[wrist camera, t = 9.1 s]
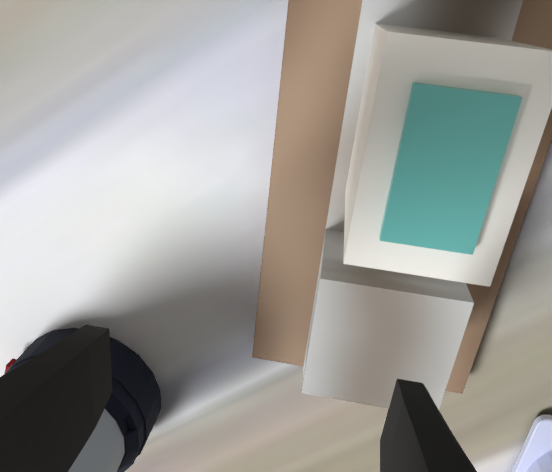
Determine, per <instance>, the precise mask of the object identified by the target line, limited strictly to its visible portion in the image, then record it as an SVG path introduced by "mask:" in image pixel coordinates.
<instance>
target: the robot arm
mask: <svg viewBox="0 0 552 472" xmlns="http://www.w3.org/2000/svg"><path fill="white" fill-rule="evenodd" d="M111 393H112V373H111V355H110V338H109V329H107V328H101V327H95V326H89V325H85V326H83V327H82V328H80V329H78V330H77V331H75V332H73V333H72V334H70V335H68V336H67V337H65V338H64V339H62V340H60V341H59V342H57V343H56V344H54V345H53V346H51V347H49V348H48V349H46V350H45V351H43V352H41V353H40V354H38V355H36V356H35V357H33V358H32V359H30V360H28V361H27V362H25V363H23V364H22V365H20V366H18V367H17V368H15V369H14V370H12V371H10V372H8V373H7V374H5V375H3V376H1V377H0V472H68V471H69V469H70V468H71V466H72V465H73V463H74V462H75V460H76V458H77V457H78V455H79V454H80V452H81V450H82V449H83V447H84V446H85V444H86V442H87V441H88V439H89V438H90V436H91V434H92V433H93V431H94V429H95V428H96V425H97V423H98V421H99V419H100V417H101V415H102V413H103V411H104V409H105V407H106V404H107V402H108V400H109V398H110V395H111ZM380 472H477V471H476V470H475V468H474V467H473V465H472V464H471V462H470V460H469V459H468V457H467V456H466V454H465V453H464V451H463V450H462V448H461V446H460V445H459V443H458V442H457V440H456V439H455V437H454V435H453V434H452V432H451V430H450V429H449V427H448V425H447V424H446V422H445V420H444V419H443V417H442V415H441V413H440V412H439V410H438V408H437V406H436V405H435V403H434V401H433V399H432V397H431V396H430V394H429V392H428V390H427V388H426V387H425V385H424V384H423V383H420V382H414V381H408V380H403V379H397V380H396V384H395V388H394V391H393V395H392V399H391V402H390V406H389V410H388V413H387V417H386V421H385V425H384V428H383V432H382V436H381V439H380ZM511 472H552V415H540V416H538V417H537V418H536V419H535V420H534V422H533V425H532V427H531V429H530V431H529V433H528V436H527V438H526V440H525V442H524V445H523V447H522V449H521V451H520V453H519V456H518V458H517V460H516V462H515V465H514V467H513V469H512V471H511Z"/></svg>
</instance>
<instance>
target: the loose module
mask: <svg viewBox="0 0 552 472" xmlns="http://www.w3.org/2000/svg"><path fill="white" fill-rule="evenodd" d="M551 108H552V49H547V48H543V47H538V46H533V45H529V44H524V43H519V42H515V41H510V40H505V39H500V38H495V37H486V36H478V35H469V34H461V33H452V32H444V31H436V30H427V29H419V28H410V27H402V26H393V25H385V24H376V23H375V26H374V31H373V37H372V43H371V48H370V54H369V60H368V65H367V71H366V77H365V82H364V88H363V94H362V99H361V105H360V111H359V116H358V122H357V128H356V133H355V139H354V145H353V150H352V156H351V162H350V167H349V173H348V179H347V184H346V190H345V222H344V258H343V264H348V265H355V266H361V267H367V268H374V269H380V270H386V271H393V272H399V273H405V274H412V275H418V276H425V277H431V278H437V279H444V280H450V281H456V282H463V283H469V284H475V285H482V286H488V287H490V285H491V283H492V280H493V277H494V274H495V271H496V268H497V265H498V262H499V259H500V256H501V254H502V251H503V248H504V245H505V242H506V239H507V236H508V233H509V230H510V227H511V225H512V222H513V219H514V216H515V213H516V210H517V207H518V204H519V201H520V198H521V195H522V193H523V190H524V187H525V184H526V181H527V178H528V175H529V172H530V169H531V166H532V164H533V161H534V158H535V155H536V152H537V149H538V146H539V143H540V140H541V137H542V135H543V132H544V129H545V126H546V123H547V120H548V117H549V114H550V111H551Z"/></svg>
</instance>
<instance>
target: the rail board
mask: <svg viewBox="0 0 552 472" xmlns="http://www.w3.org/2000/svg"><path fill="white" fill-rule="evenodd" d="M375 23H376V24H385V25H393V26H402V27H410V28H419V29H427V30H436V31H444V32H452V33H461V34H469V35H478V36H486V37H495V38H500V39H505V40H510V41H515V42H519V43H524V44H529V45H533V46H538V47H543V48H547V49H552V0H289V2H288V12H287V22H286V31H285V41H284V51H283V61H282V71H281V80H280V90H279V100H278V110H277V120H276V129H275V139H274V149H273V159H272V168H271V178H270V188H269V198H268V208H267V217H266V227H265V237H264V247H263V257H262V266H261V276H260V286H259V296H258V306H257V315H256V325H255V335H254V345H253V354H252V357H253V358H259V359H265V360H271V361H277V362H282V363H288V364H294V365H300V366H303V373H304V377H303V385H302V393H304V394H310V395H316V396H321V397H327V398H332V399H338V400H344V401H349V402H355V403H361V404H366V405H372V406H378V407H383V408H389V406H390V402H391V399H392V395H393V391H394V388H395V384H396V380H397V379H403V380H408V381H414V382H420V383H423V384H424V385H425V387H426V388H427V390H428V392H429V394H430V396H431V397H432V399H433V401H434V403H435V405H436V406H437V408H438V410H439V408H440V405H441V402H442V399H443V396H444V393H445V391H450V392H456V393H463V390H464V388H465V385H466V382H467V379H468V376H469V373H470V371H471V368H472V365H473V362H474V359H475V356H476V354H477V351H478V348H479V345H480V342H481V339H482V337H483V334H484V331H485V328H486V325H487V322H488V319H489V317H490V314H491V311H492V308H493V305H494V302H495V300H496V297H497V294H498V291H499V288H500V285H501V283H502V280H503V277H504V274H505V271H506V268H507V266H508V263H509V260H510V257H511V254H512V251H513V248H514V246H515V243H516V240H517V237H518V234H519V231H520V229H521V226H522V223H523V220H524V217H525V214H526V212H527V209H528V206H529V203H530V200H531V197H532V195H533V192H534V189H535V186H536V183H537V180H538V177H539V175H540V172H541V169H542V166H543V163H544V160H545V158H546V155H547V152H548V149H549V146H550V143H551V141H552V108H551V111H550V114H549V117H548V120H547V123H546V126H545V129H544V132H543V135H542V137H541V140H540V143H539V146H538V149H537V152H536V155H535V158H534V161H533V164H532V166H531V169H530V172H529V175H528V178H527V181H526V184H525V187H524V190H523V193H522V195H521V198H520V201H519V204H518V207H517V210H516V213H515V216H514V219H513V222H512V225H511V227H510V230H509V233H508V236H507V239H506V242H505V245H504V248H503V251H502V254H501V256H500V259H499V262H498V265H497V268H496V271H495V274H494V277H493V280H492V283H491V285H490V287H488V286H482V285H475V284H469V283H463V282H456V281H450V280H444V279H437V278H431V277H425V276H418V275H412V274H405V273H399V272H393V271H386V270H380V269H374V268H367V267H361V266H355V265H348V264H343V258H344V222H345V190H346V184H347V179H348V173H349V167H350V162H351V156H352V150H353V145H354V139H355V133H356V128H357V122H358V116H359V111H360V105H361V99H362V94H363V88H364V82H365V77H366V71H367V65H368V60H369V54H370V48H371V43H372V37H373V31H374V26H375Z"/></svg>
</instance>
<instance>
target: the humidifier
mask: <svg viewBox="0 0 552 472" xmlns="http://www.w3.org/2000/svg"><path fill="white" fill-rule="evenodd" d="M77 330H78V329H76V328H71V329H63V330H55V331H51V332H49V333H47V334H45V335H43V336H41V337H39V338H38V339H36V340H35V341H34V342H33V343H32V344H31V345H30V346H29V347H28V348H27V349H26V350H25V352H24V353H23V354H22V355H21V356H20V357H19V358H18V359H17V360H16V359H12V360H11V361H10V362H9V363H8V364H7V365H6V369H5V374H7V373H8V372H10V371H12V370H14V369H15V368H17V367H18V366H20V365H22V364H23V363H25V362H27V361H28V360H30V359H32V358H33V357H35V356H36V355H38V354H40V353H41V352H43V351H45V350H46V349H48V348H49V347H51V346H53V345H54V344H56V343H57V342H59V341H60V340H62V339H64V338H65V337H67V336H68V335H70V334H72V333H73V332H75V331H77ZM109 338H110V337H109ZM110 355H111V373H112V393H111V395H110V398H109V400H108V402H107V404H106V407H105V409H104V411H103V413H102V415H101V417H100V419H99V421H98V423H97V425H96V428H95V429H94V431H93V433H92V434H91V436H90V438H89V439H88V441H87V442H86V444H85V446H84V447H83V449H82V450H81V452H80V454H79V455H78V457H77V458H76V460H75V462H74V463H73V465H72V466H71V468H70V469H69V471H68V472H124V471H126V470H127V469H128V468H129V467H130V466H131V465H132V464H133V463H134V461H135V459H136V457H137V456H138V455H140V453H141V451H142V449H143V447H144V445H145V443H146V441H147V438H148V436H149V434H150V432H151V430H152V428H153V426H154V424H155V421H156V419H157V416H158V414H159V412H160V409H161V395H160V389H159V387H158V384H157V382H156V379H155V377H154V374H153V372H152V371H151V370H150V369H149V368H148V366H147V365H146V364H145V363H144V361H143V360H142V359H141V358H140V357H139V355H137V354H136V353H134V352H133V351H132V350H130V349H129V348H128V347H126V346H125V345H124V344H122V343H121V342H120V341H117V340H115V339H113V338H110ZM5 374H4V375H5Z"/></svg>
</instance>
